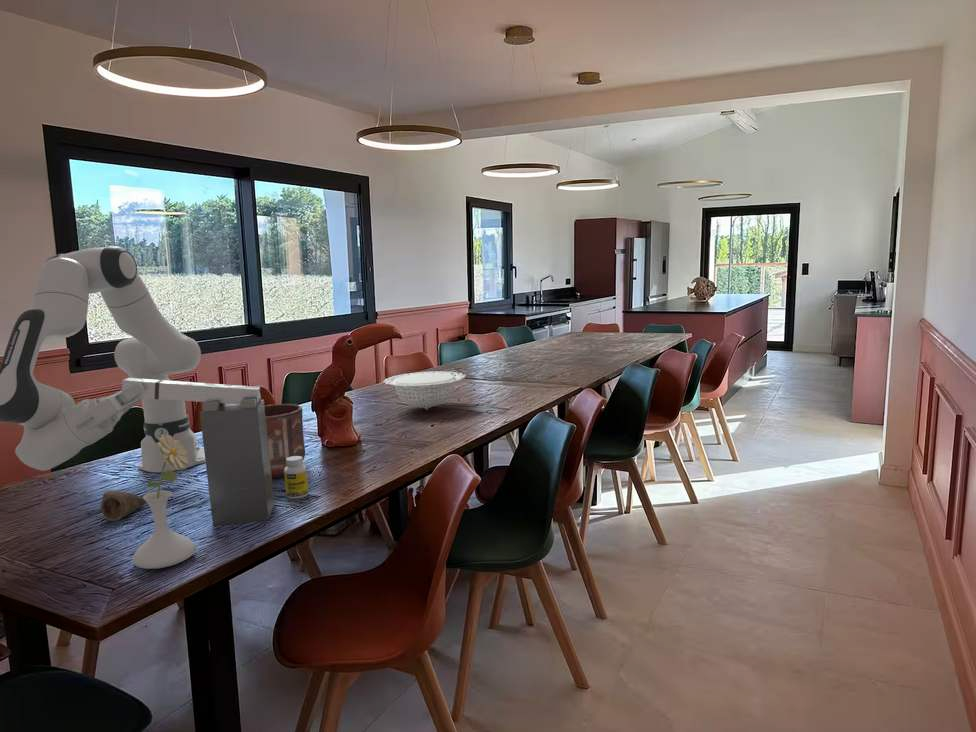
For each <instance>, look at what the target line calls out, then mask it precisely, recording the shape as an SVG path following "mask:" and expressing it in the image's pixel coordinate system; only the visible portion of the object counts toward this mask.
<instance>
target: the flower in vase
mask: <svg viewBox="0 0 976 732" xmlns="http://www.w3.org/2000/svg"><path fill="white" fill-rule="evenodd" d="M159 441H160V442H158V446H159V447H158V449H159V451H160V454H161V456H163V460H164V464H163V467H162V472H160V473H161V474H160V478H159V482H155V481H151V480H148V481H147V485H146V487H147V488H157V490H156V491H152V492H149V493H145V495H143V496H142V498H143V499H144V500H145V503H147V504H148V506H149V508H150V510H151V513H152V517H153V521H154V522H153V523H154V530H153V533H152V534H151V535H150V537H148V539H147V540H145V541H144V542H143V544H141V546H139V547H138V548H137V549H136V550H135V552H134V554H133V556H132V559H131V560H132V563H133V565H134V566H135V567H137V568H141V569H146V570H147V569H149V570H153V569H155V570H157V569H163V568H167V567H171V566H174V565H177V564H180V563H181V562H184V561H185V560H187V559H189V558H190V557H192V556H193V554H194V553H195V552H196V549H197V546H196V544H195V543H194V541H193V540H192V539H190V538H189V537H187V536H185V535H182V534H181V533H178V532H175V531H173V530H172V529H171V528H170V527H169V524H168V520H167V507H168V506H167V505H168V500H169V499H170V496H171V495H172V492H171V490H161V486H162V484H163V482H162V481H163V480H165V481H166V482H168V483H173V482H175V480H177V478H178V474H177V473H176V472H175V471H171V470H166V471H165V472H164V467H165V464H166V463H167V464H168V465H170V466H171V468H172V469H174V468H176V469H177V470H176V471H178V470H179V468H180V470H186V469H187V468H186V467H185V465H184V463H186V464H188V463H189V462H188V457H186V456H185V455H187V451H186V450H184V448H183V446H181V445H180V442H179V441H178V440H176V441H175V440H174V439H173V438H172V436H169V435H168V434H167V435H166V436H165V437H164V436H163V435H161V438H159ZM180 470H179V471H180Z"/></svg>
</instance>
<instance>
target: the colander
mask: <svg viewBox="0 0 976 732" xmlns="http://www.w3.org/2000/svg"><path fill="white" fill-rule="evenodd" d="M466 376H467V375H466V374H463V373H462V372H457V371H443V370H439V371H437V370H436V371H432V370H430V371H419V372H410V373H402V374H401V373H400V374H398V375H397V374H396V375H393V376H392V375H391V376H390V377H388V378H384V380H382V383H384V384H386V385H390V386H394V389H395V391H396V394H397V396H398V398H399V399H400V401H401V402H403V403H404V404H406V405H409V406H412V407H417V408H420V409H422V408H423V409H425V411H428V410H429V408H432V407H433V408H434V407H436V406H437V405H441V404H444V403H446V402H447V401H448V400H449V399H451V396H452V395H453V394H454V390H455V385H456V382H459V381H463V379H465V378H466ZM409 393H410V394H409Z"/></svg>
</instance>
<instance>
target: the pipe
mask: <svg viewBox="0 0 976 732" xmlns="http://www.w3.org/2000/svg"><path fill="white" fill-rule="evenodd" d="M145 504H146V501H145V500H144V499H143V496H142V497H141V496H139V495H138V494H135V493H130V492H125V491H119V490H118V491H117V490H108V491H106V492H104V493H103V495H102V500H101V502H100V510H101V512H102V517H104V518H105V520H107V522H115V521H120V520H121V519H122V518H125V517H127V516H129V515H131V514H132V513H134V512H135V511H136V510H138V509H140V508H141V507H142V506H144V505H145Z"/></svg>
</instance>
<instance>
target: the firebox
mask: <svg viewBox="0 0 976 732" xmlns="http://www.w3.org/2000/svg"><path fill="white" fill-rule="evenodd" d="M240 403H241V404H227V403H219V402H218V401H215V402H202V403H201V407H202V410H201V411H200V412H199V416H200V426H201V434H202V435H201V436H202V440H203V441H202V442H203V448H204V453H205V468H206V477H207V486H208V495H209V502H210V511H211V512H210V513H211V520H212V527H218V526H217V525H220V526H226V524H229V525H235V523H238V524H243V523H244V524H245V522H246V523H254V522H253V521H255V522H263V521H262V520H264V521H269V520H270V517H271V514H272V513H273V510H274V507H275V499H274V498H275V497H274V488H273V480H272V479H273V478H272V476H271V466H270V457H269V447H268V437H267V427H266V417H265V407H264V406H265V399H262V394H261V393H260V396H259V403H258V404H256V398H252V399H242V400H241V401H240Z"/></svg>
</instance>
